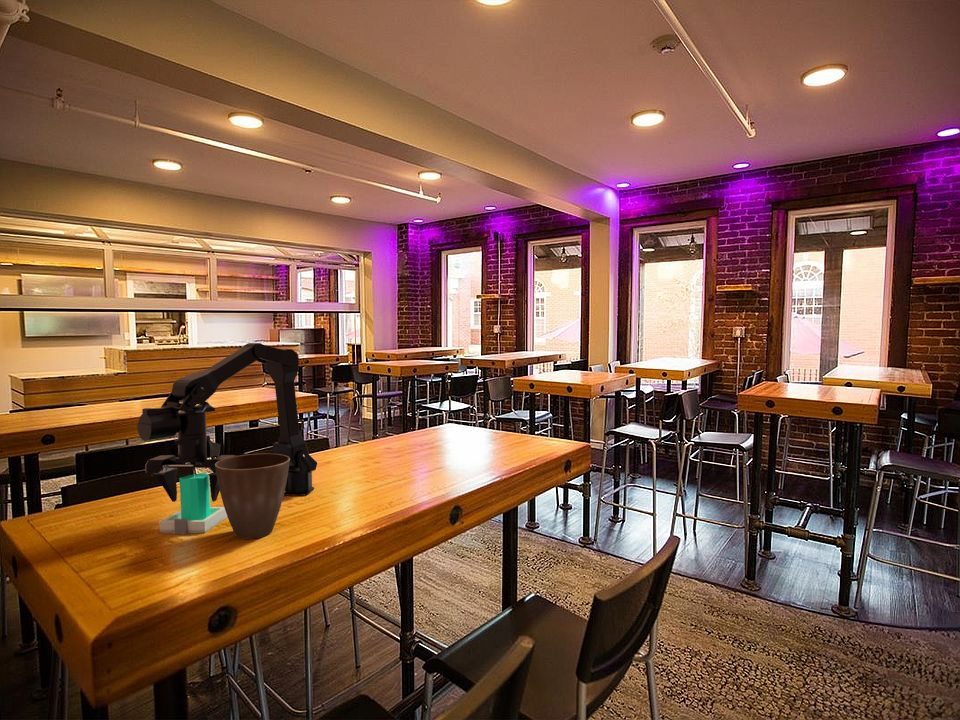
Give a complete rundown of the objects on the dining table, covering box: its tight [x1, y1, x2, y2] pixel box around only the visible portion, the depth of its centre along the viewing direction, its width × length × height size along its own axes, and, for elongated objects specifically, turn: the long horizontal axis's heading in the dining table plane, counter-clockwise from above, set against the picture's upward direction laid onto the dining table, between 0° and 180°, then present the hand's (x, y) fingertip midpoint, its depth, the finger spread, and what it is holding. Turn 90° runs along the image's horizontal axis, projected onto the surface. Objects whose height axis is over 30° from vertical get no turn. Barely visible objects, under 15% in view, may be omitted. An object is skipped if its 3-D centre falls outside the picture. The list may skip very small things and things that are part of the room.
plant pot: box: [215, 453, 290, 540], centre depth 115 cm, size 15×15×16 cm
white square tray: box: [158, 506, 228, 535], centre depth 120 cm, size 10×11×3 cm
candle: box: [179, 471, 211, 520], centre depth 120 cm, size 6×6×12 cm
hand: (194, 501), depth 120 cm, fingers open, 9 cm apart
